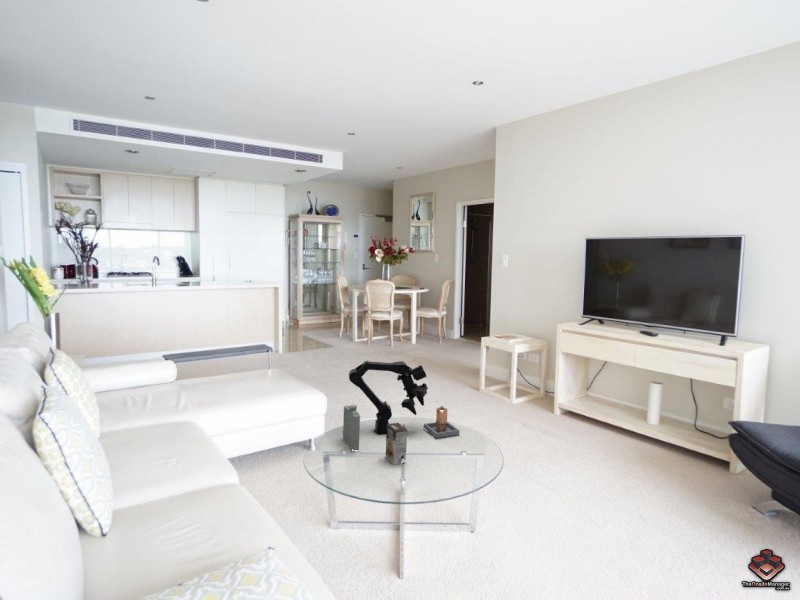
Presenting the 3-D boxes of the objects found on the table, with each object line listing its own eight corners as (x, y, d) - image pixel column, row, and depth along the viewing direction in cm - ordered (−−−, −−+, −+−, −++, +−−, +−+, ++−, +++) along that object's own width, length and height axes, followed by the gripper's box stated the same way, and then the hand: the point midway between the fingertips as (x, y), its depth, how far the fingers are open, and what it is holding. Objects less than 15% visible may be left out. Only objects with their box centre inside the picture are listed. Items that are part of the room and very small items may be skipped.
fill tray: (435, 439, 240) (436, 433, 240) (423, 429, 253) (423, 423, 253) (459, 435, 246) (459, 430, 246) (445, 425, 259) (446, 420, 259)
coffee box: (384, 457, 218) (386, 424, 216) (397, 454, 221) (398, 422, 219) (393, 465, 210) (395, 431, 208) (406, 462, 213) (407, 429, 211)
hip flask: (342, 439, 236) (343, 401, 234) (349, 438, 238) (350, 400, 235) (353, 452, 222) (354, 411, 220) (361, 450, 224) (362, 410, 221)
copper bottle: (442, 434, 246) (443, 409, 244) (433, 430, 249) (434, 406, 247) (448, 430, 250) (449, 406, 248) (439, 427, 254) (440, 403, 252)
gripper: (413, 391, 234) (424, 418, 237) (429, 373, 249) (439, 399, 252) (395, 393, 240) (406, 420, 243) (411, 376, 255) (422, 401, 258)
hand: (419, 410), depth 249 cm, fingers open, 9 cm apart
